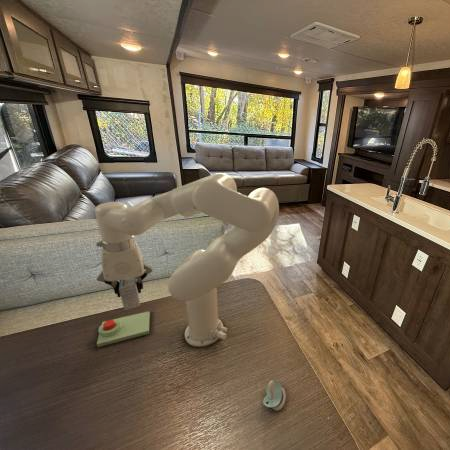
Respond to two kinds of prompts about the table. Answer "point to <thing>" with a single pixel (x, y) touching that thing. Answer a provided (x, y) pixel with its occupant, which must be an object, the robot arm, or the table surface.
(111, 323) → the tare button
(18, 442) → the table surface
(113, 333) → the green button pad
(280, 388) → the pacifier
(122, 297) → the medicine box
